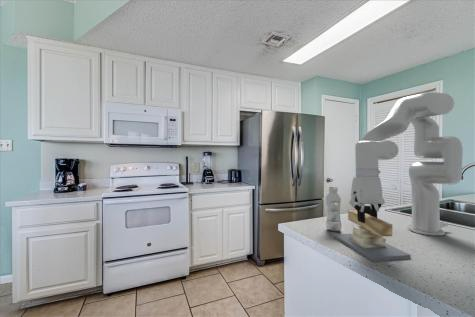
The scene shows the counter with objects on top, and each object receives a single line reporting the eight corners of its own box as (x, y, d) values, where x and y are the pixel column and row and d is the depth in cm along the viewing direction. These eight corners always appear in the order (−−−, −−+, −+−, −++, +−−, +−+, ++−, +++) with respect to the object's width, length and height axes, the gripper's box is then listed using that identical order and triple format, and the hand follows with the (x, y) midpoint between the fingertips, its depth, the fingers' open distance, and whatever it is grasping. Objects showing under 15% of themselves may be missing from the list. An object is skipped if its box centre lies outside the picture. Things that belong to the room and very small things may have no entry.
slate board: (363, 235, 95) (363, 232, 95) (410, 258, 73) (410, 254, 73) (333, 237, 93) (333, 234, 93) (372, 261, 71) (372, 257, 71)
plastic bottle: (343, 233, 97) (342, 188, 97) (327, 232, 99) (326, 188, 99) (339, 228, 104) (339, 186, 104) (324, 228, 105) (324, 186, 105)
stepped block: (371, 239, 87) (371, 224, 87) (385, 246, 80) (385, 229, 80) (350, 240, 86) (350, 225, 86) (363, 248, 79) (363, 231, 79)
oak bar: (357, 219, 93) (357, 210, 93) (392, 236, 73) (392, 224, 73) (348, 219, 93) (348, 210, 92) (380, 236, 73) (380, 224, 73)
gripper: (378, 172, 88) (379, 217, 88) (340, 173, 85) (340, 220, 85) (394, 173, 80) (395, 223, 80) (353, 174, 78) (353, 225, 78)
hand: (367, 221), depth 83 cm, fingers closed on oak bar, 4 cm apart
